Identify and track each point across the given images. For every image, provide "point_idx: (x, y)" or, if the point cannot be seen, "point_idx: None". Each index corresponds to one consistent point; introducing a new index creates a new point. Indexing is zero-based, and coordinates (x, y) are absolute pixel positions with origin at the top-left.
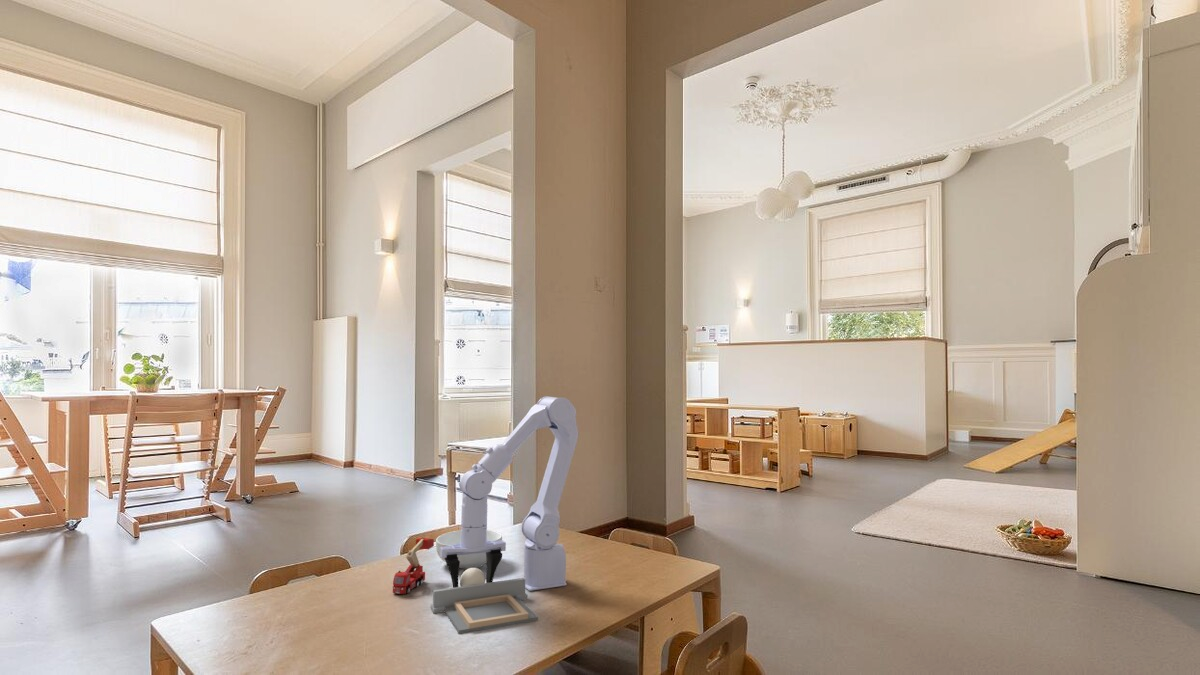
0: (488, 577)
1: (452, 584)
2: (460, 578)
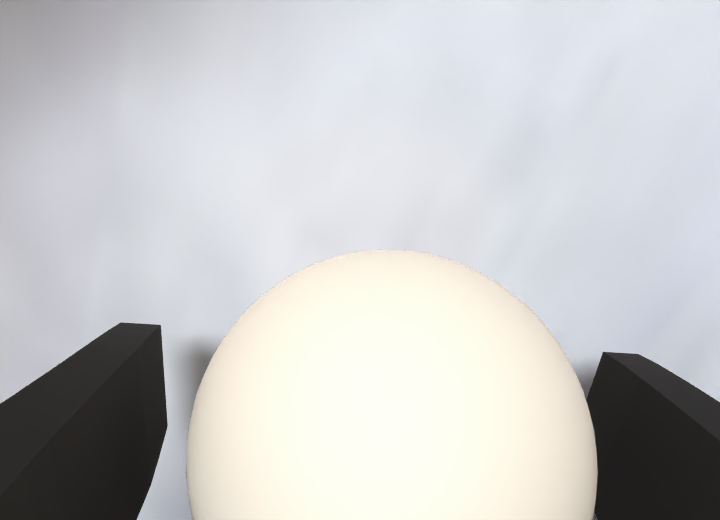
0: (627, 496)
1: (93, 341)
2: (188, 451)
